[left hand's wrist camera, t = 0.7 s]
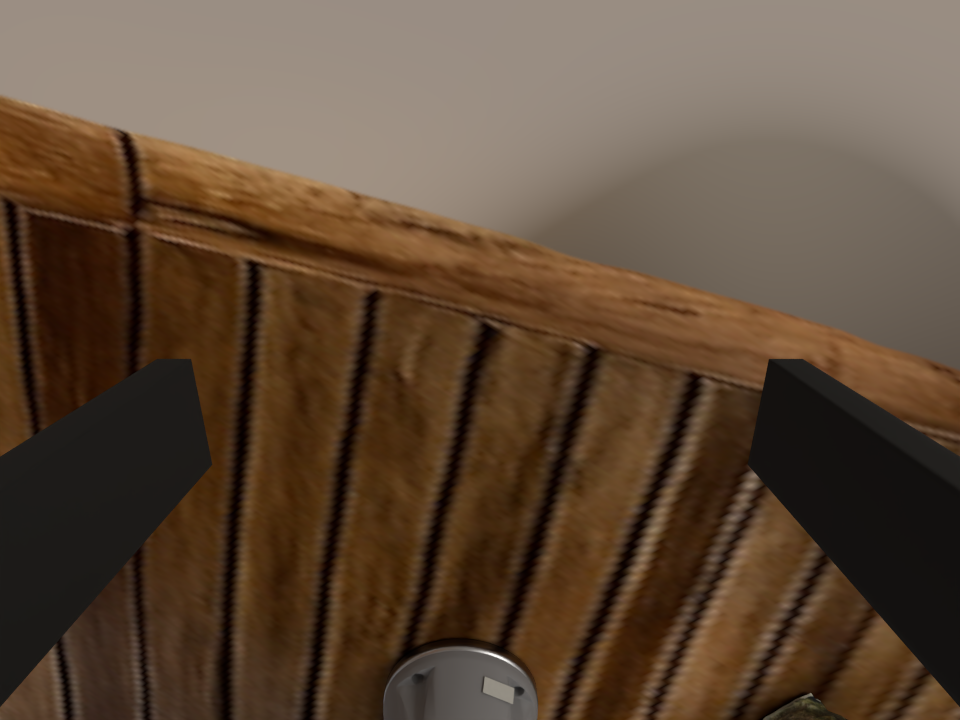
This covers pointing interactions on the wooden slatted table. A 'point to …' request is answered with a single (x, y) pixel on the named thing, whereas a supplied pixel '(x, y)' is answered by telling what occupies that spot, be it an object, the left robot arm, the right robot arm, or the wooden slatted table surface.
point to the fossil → (804, 710)
